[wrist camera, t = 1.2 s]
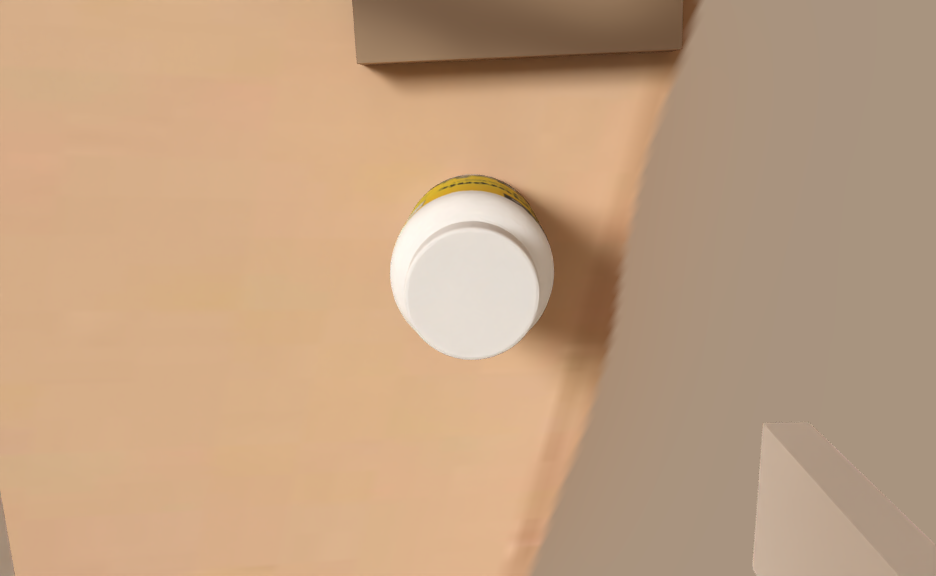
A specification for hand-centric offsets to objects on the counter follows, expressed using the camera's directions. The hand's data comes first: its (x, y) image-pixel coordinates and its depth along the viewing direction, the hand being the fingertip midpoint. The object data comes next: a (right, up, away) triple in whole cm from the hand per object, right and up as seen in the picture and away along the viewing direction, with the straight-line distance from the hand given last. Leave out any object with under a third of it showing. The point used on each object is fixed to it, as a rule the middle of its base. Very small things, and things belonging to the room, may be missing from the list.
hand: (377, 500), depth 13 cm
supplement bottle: (+2, +6, +19) cm, 20 cm away
